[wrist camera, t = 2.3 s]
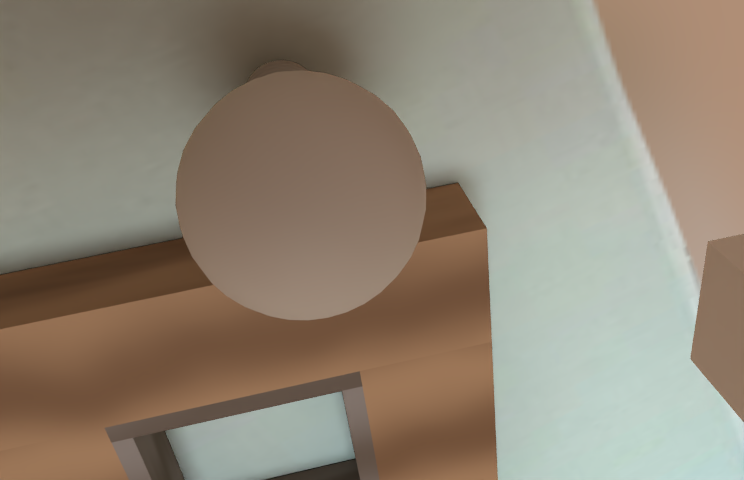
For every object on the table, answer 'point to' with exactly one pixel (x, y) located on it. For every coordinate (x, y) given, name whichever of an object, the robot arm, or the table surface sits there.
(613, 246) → the table surface
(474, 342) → the socket base
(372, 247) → the lightbulb
